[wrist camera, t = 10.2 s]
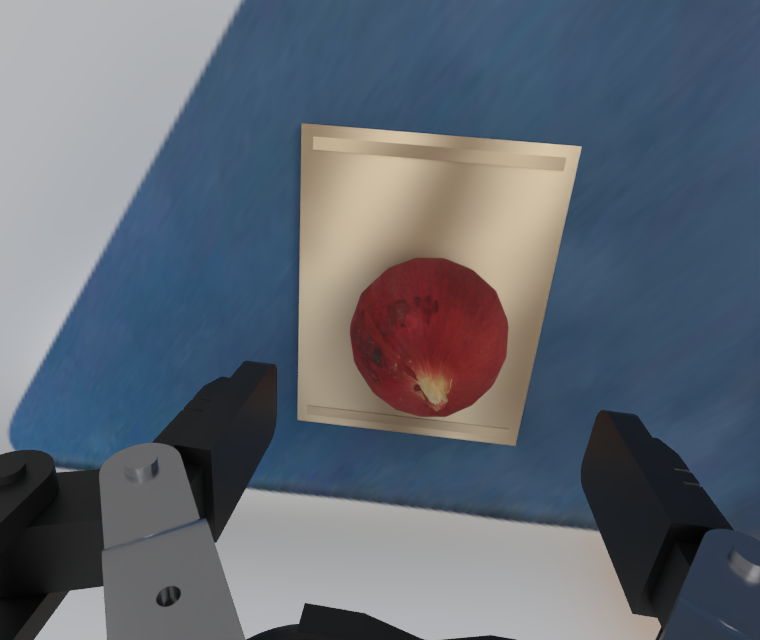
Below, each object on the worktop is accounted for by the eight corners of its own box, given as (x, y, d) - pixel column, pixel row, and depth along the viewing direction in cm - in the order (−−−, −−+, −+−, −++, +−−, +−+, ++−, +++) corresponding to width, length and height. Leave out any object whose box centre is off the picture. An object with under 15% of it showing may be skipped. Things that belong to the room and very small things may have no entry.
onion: (347, 337, 22) (307, 439, 15) (387, 220, 20) (363, 270, 13) (464, 377, 22) (482, 497, 15) (515, 265, 20) (567, 341, 13)
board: (572, 145, 19) (582, 146, 18) (511, 431, 25) (515, 446, 24) (308, 123, 20) (301, 123, 19) (303, 407, 25) (297, 420, 24)
